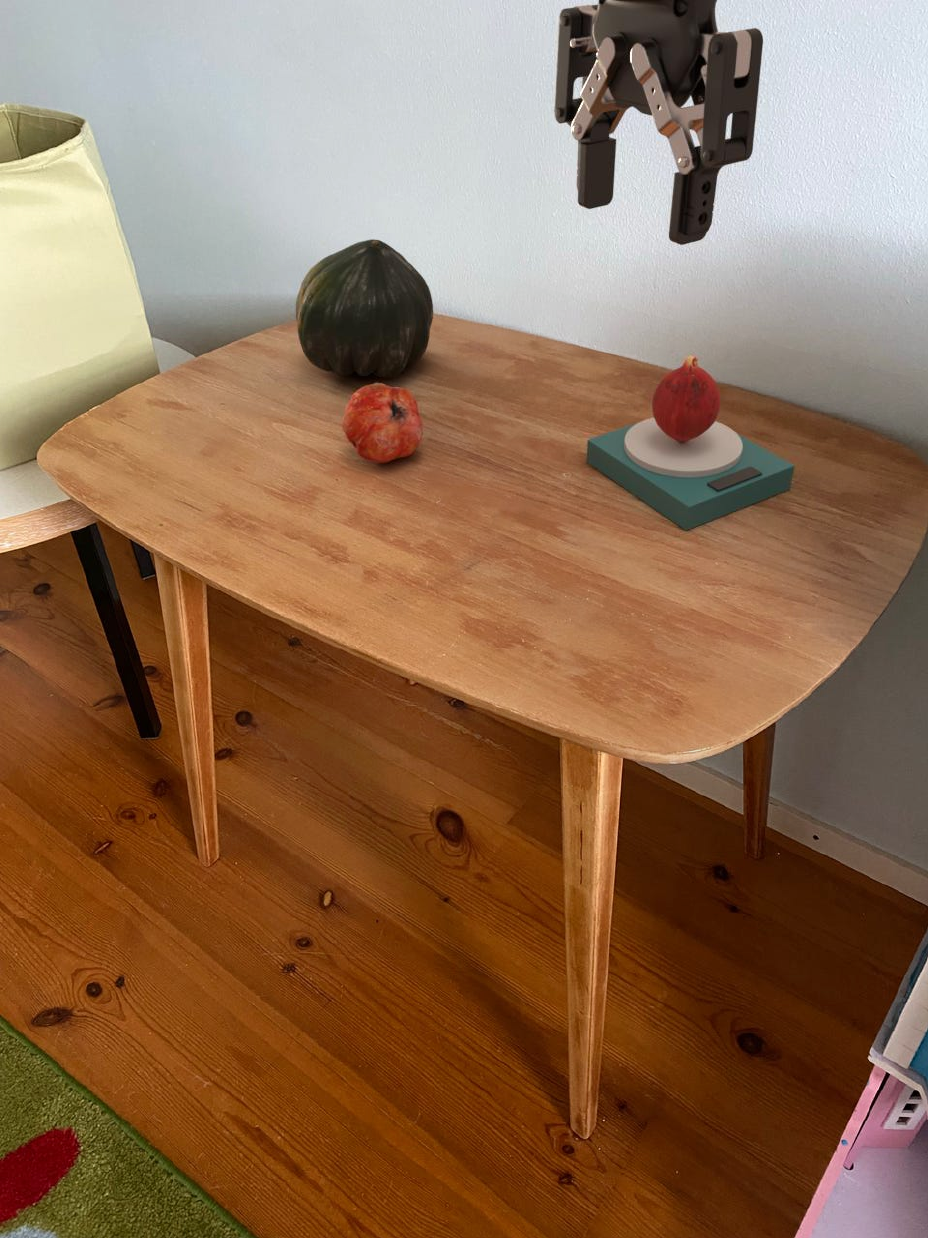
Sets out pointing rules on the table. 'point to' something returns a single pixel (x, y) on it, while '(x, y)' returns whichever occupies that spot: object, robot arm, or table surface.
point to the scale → (689, 470)
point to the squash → (364, 312)
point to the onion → (686, 402)
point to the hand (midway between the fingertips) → (638, 222)
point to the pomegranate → (382, 422)
